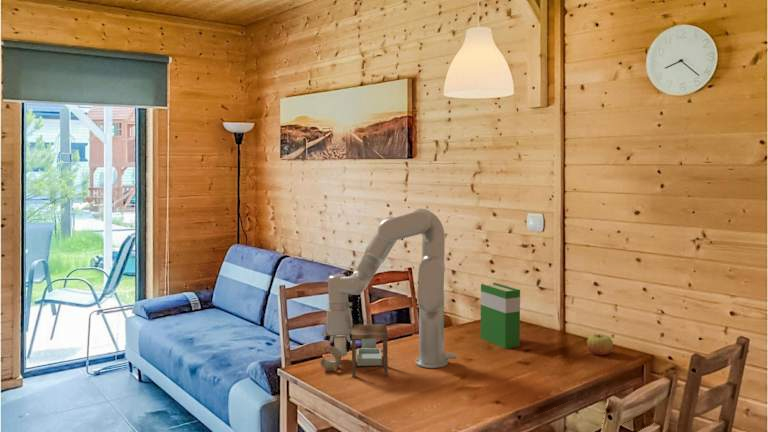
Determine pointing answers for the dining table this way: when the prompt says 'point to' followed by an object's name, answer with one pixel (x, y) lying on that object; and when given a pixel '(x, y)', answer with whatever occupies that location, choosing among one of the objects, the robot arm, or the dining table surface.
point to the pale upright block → (341, 343)
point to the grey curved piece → (330, 363)
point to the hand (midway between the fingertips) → (340, 350)
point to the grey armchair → (369, 353)
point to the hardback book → (500, 315)
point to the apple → (599, 344)
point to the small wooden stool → (369, 333)
